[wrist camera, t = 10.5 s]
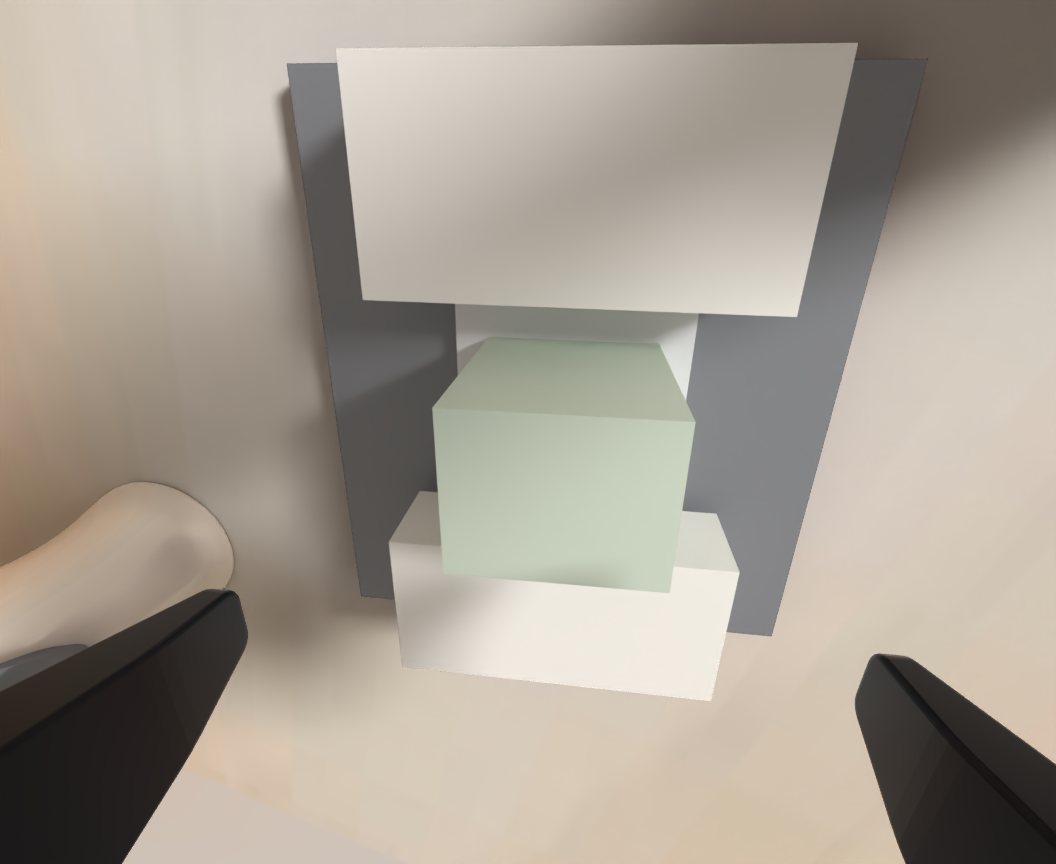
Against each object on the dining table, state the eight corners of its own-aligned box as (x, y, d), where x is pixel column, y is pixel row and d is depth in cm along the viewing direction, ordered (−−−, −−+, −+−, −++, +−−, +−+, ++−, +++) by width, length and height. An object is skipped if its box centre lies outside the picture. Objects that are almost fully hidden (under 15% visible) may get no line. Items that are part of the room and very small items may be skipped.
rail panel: (904, 68, 13) (1048, 6, 9) (763, 617, 20) (807, 723, 16) (305, 72, 15) (191, 19, 11) (370, 580, 22) (318, 668, 18)
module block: (659, 343, 15) (696, 421, 10) (645, 466, 17) (669, 593, 11) (488, 336, 16) (432, 407, 10) (491, 456, 17) (442, 573, 12)
